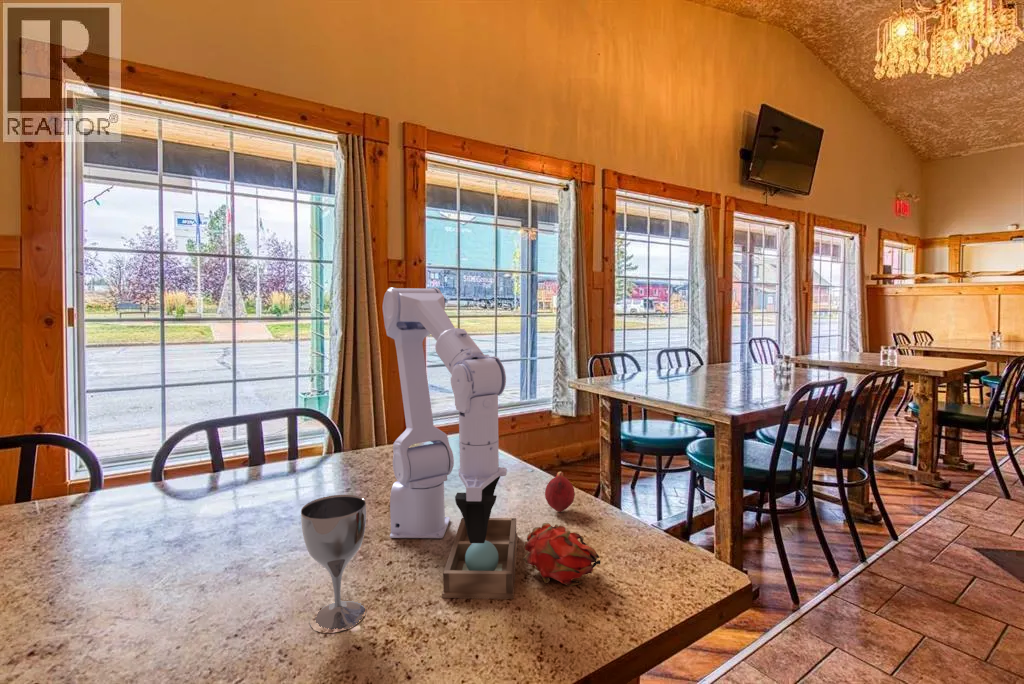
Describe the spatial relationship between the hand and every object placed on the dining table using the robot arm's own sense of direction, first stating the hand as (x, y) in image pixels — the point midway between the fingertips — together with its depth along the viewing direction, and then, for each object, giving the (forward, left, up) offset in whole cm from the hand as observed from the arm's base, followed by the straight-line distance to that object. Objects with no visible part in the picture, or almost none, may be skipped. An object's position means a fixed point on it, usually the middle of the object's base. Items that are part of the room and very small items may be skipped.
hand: (480, 529), depth 75 cm
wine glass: (-18, -10, -8) cm, 22 cm away
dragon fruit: (+12, +1, -8) cm, 14 cm away
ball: (0, 0, -4) cm, 4 cm away
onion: (+13, +24, -8) cm, 29 cm away
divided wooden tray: (0, +4, -8) cm, 9 cm away
